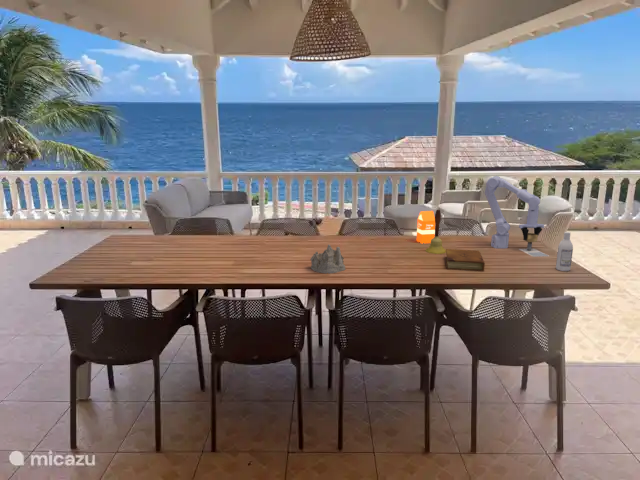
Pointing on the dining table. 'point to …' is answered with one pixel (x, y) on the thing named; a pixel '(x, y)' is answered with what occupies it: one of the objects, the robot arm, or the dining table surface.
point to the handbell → (436, 238)
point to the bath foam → (564, 253)
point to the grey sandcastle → (328, 261)
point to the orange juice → (425, 227)
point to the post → (529, 246)
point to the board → (533, 252)
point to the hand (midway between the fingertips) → (530, 239)
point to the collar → (531, 237)
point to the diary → (464, 260)
